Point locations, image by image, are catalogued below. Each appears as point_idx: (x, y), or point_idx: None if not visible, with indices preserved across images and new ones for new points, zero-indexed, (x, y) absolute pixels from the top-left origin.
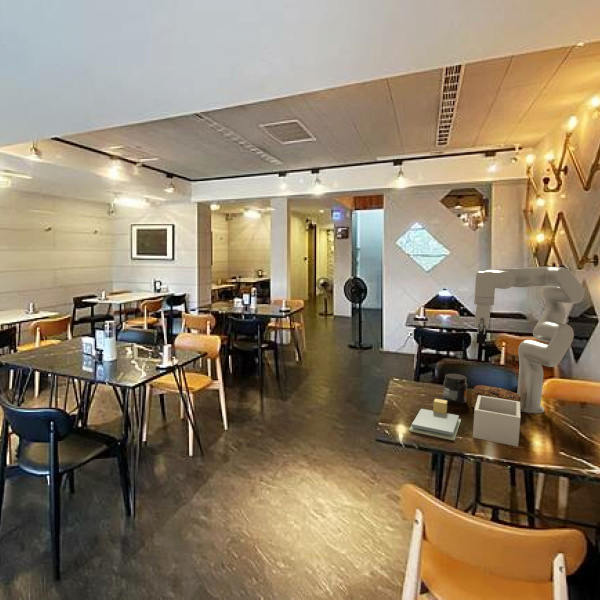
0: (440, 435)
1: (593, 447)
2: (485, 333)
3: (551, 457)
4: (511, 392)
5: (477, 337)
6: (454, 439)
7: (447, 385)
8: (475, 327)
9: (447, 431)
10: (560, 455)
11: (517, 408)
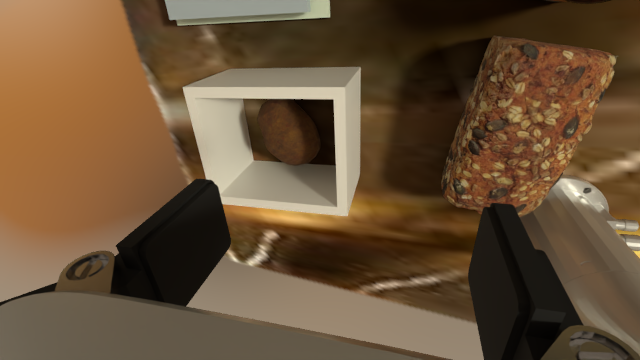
0: None
1: (330, 285)
2: (484, 335)
3: (240, 215)
4: (508, 198)
5: (159, 219)
6: (178, 25)
7: None
8: (18, 302)
9: (165, 2)
10: (259, 230)
11: (279, 203)
